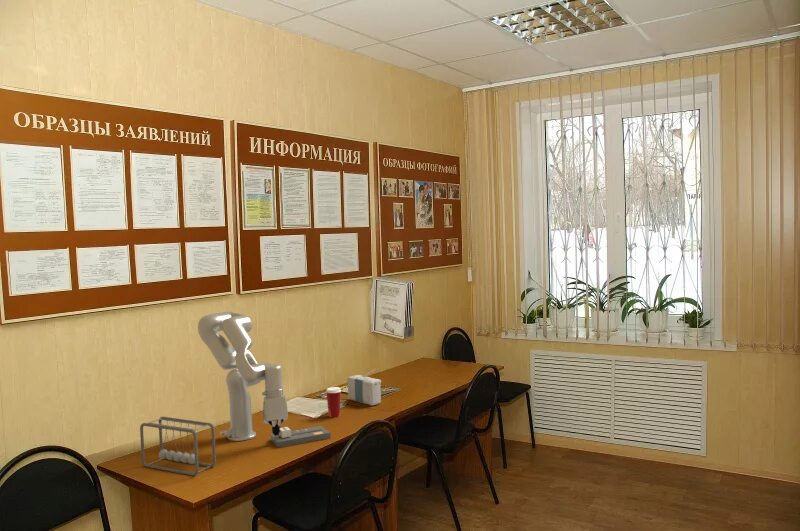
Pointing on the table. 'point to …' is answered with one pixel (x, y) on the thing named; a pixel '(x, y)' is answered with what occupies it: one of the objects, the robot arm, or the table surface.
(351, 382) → the stereo radio cassette player
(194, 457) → the newton's cradle
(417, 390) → the table surface
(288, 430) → the fader knob
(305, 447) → the table surface
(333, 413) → the paper cup
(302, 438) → the fader panel
